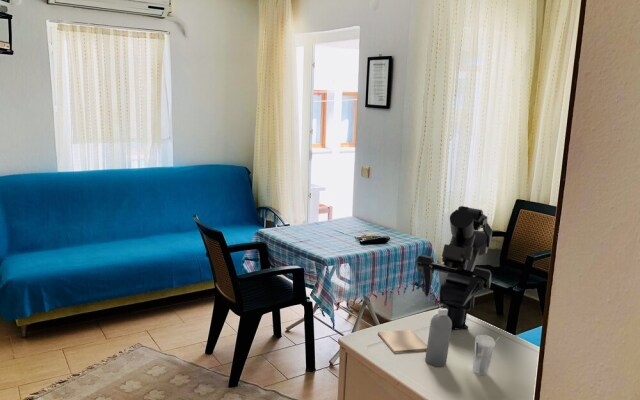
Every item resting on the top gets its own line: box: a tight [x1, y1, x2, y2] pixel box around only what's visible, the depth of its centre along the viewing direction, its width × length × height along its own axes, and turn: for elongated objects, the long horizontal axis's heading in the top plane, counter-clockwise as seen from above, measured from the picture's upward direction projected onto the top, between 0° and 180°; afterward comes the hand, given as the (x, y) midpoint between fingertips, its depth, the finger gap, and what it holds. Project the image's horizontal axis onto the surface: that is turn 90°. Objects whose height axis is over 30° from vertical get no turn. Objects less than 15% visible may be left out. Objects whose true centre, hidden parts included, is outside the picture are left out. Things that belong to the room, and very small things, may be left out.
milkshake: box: [472, 334, 501, 376], centre depth 118 cm, size 4×5×10 cm
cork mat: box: [377, 329, 427, 354], centre depth 131 cm, size 10×10×1 cm
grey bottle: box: [424, 308, 452, 369], centre depth 121 cm, size 5×5×14 cm
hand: (444, 300), depth 126 cm, fingers open, 9 cm apart
